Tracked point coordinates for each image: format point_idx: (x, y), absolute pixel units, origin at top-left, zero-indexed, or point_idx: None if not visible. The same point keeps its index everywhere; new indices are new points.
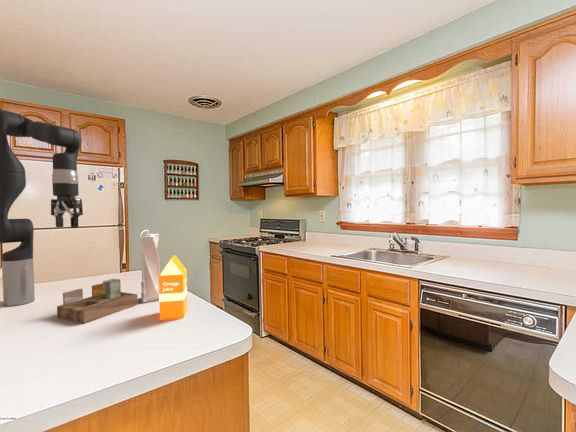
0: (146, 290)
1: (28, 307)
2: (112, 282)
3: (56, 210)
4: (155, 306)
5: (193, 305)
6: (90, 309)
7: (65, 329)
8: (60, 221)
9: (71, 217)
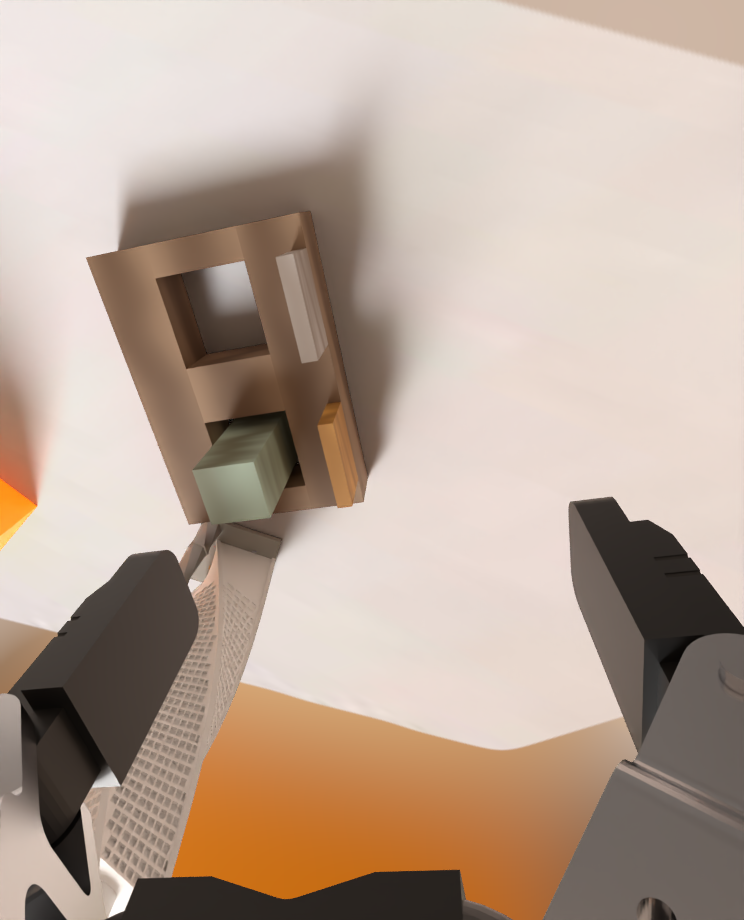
0: (215, 574)
1: (671, 187)
2: (199, 479)
3: (626, 833)
4: (124, 520)
5: (27, 589)
6: (100, 291)
7: (100, 167)
8: (606, 627)
9: (74, 705)
